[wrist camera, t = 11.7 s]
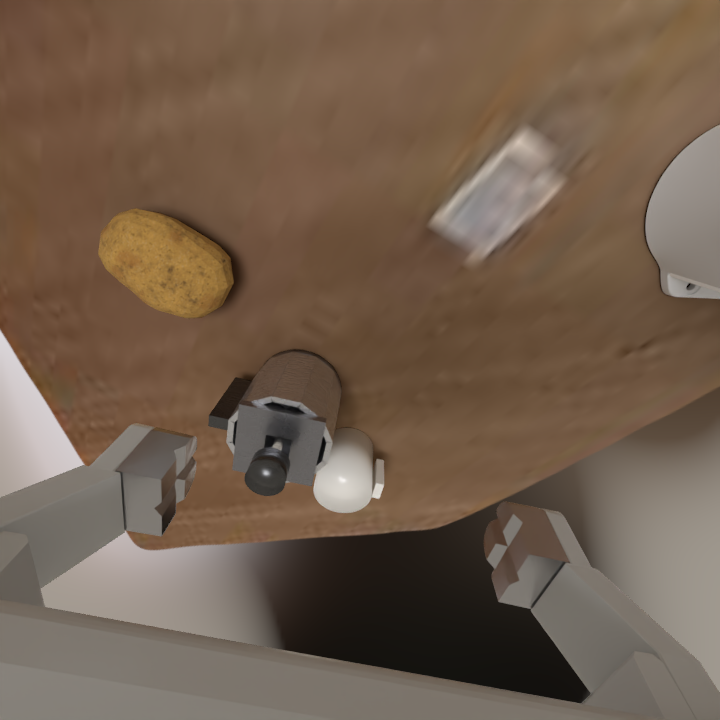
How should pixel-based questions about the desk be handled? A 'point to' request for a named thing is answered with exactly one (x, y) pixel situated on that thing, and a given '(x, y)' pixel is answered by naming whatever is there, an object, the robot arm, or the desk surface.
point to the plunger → (269, 465)
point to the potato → (166, 263)
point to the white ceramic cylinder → (349, 473)
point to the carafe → (283, 413)
